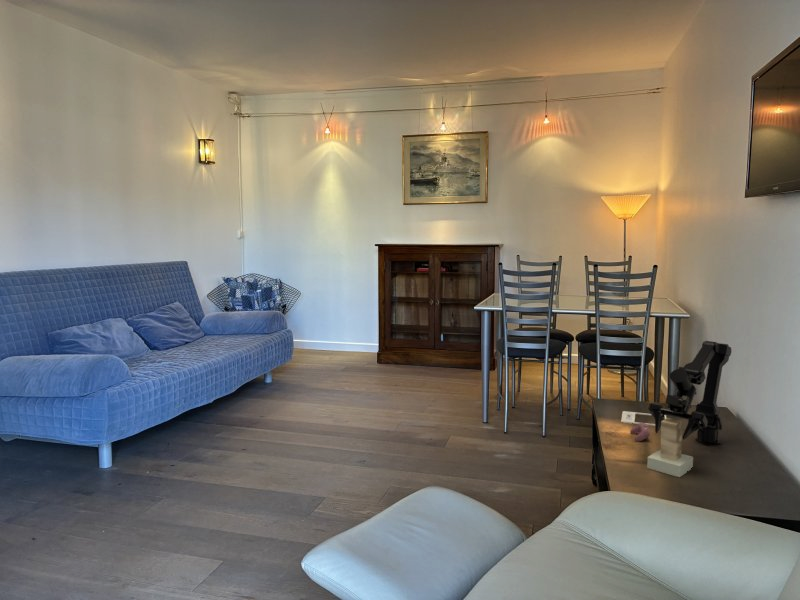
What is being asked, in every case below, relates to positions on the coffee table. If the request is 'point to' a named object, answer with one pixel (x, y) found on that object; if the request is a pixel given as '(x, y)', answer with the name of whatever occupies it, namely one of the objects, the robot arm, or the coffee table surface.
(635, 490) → the coffee table surface
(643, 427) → the pink lumpy piece
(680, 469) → the white flat block
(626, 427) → the coffee table surface
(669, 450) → the birch block
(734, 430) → the coffee table surface
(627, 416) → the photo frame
